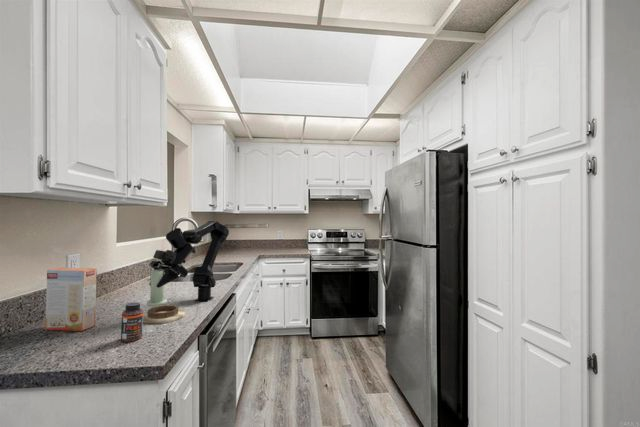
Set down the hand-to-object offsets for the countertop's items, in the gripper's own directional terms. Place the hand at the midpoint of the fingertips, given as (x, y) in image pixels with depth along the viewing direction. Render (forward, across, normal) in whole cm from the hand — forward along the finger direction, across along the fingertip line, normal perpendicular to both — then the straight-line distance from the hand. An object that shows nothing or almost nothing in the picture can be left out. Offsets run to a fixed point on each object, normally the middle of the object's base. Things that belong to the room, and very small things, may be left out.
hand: (153, 286), depth 115 cm
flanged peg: (+4, 0, +6) cm, 7 cm away
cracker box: (+24, -14, -6) cm, 28 cm away
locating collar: (+7, +2, +11) cm, 13 cm away
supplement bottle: (+19, +14, -2) cm, 24 cm away
